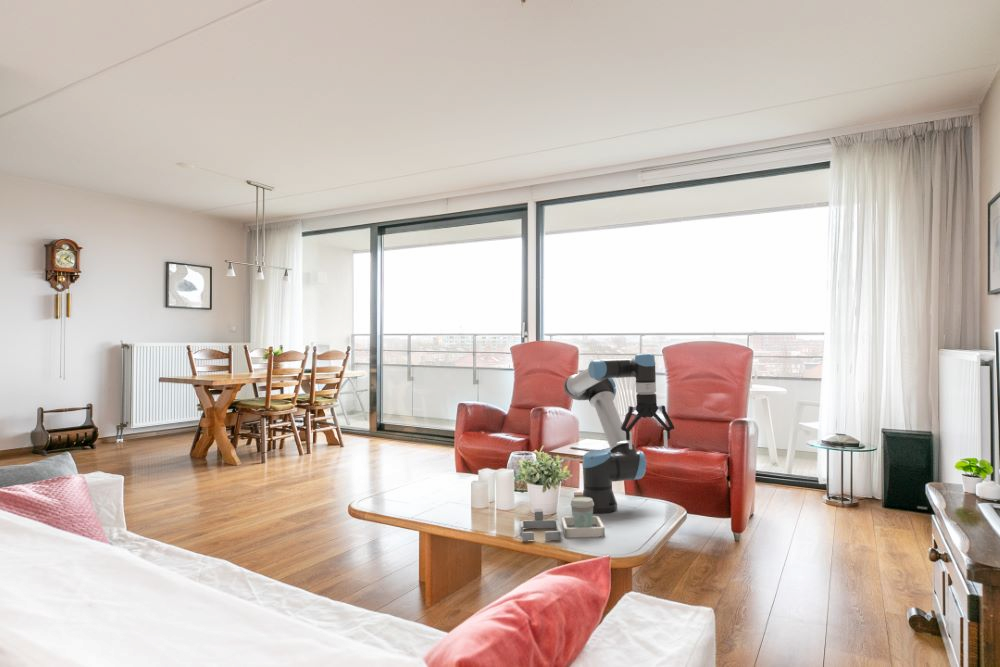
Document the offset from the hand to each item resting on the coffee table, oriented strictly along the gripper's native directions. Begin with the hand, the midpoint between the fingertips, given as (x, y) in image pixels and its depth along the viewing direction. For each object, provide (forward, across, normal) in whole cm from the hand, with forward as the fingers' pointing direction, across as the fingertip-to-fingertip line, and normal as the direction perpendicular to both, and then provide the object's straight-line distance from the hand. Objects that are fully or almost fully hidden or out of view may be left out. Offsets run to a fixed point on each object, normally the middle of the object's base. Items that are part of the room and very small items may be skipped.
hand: (648, 448), depth 231 cm
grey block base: (+27, -44, -15) cm, 53 cm away
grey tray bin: (+27, -28, -12) cm, 40 cm away
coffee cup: (+27, -28, -16) cm, 42 cm away
